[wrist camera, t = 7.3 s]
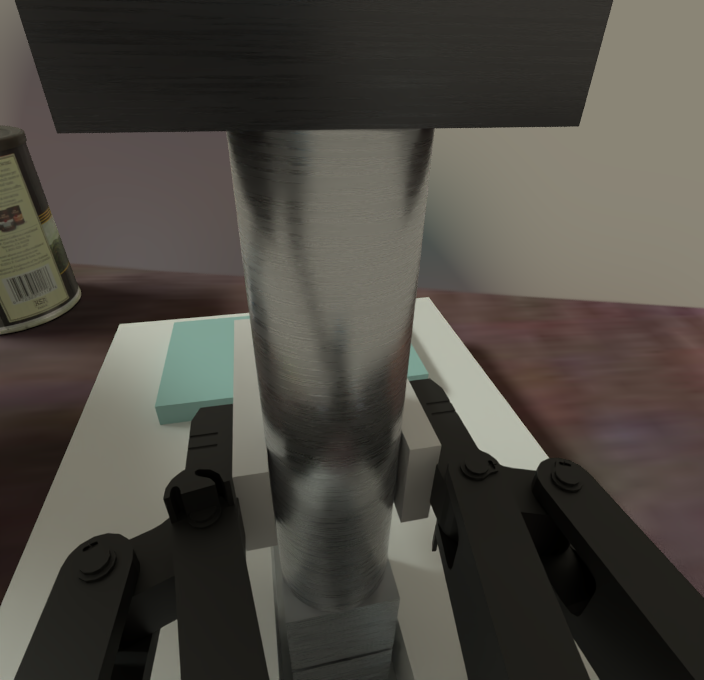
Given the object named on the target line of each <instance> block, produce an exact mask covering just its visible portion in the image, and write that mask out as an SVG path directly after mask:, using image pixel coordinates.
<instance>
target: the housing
mask: <svg viewBox="0 0 704 680" xmlns="http://www.w3.org/2000/svg"><path fill="white" fill-rule="evenodd" d="M241 316H250V315H249V313H243V314H231V315H220V316H208V317H197V318H185V319H174V320H162V321H151V322H139V323H128V324H120V325H119V327H118V329H117V332H116V334H115V337H114V339H113V341H112V344H111V346H110V348H109V351H108V353H107V355H106V358H105V360H104V363H103V365H102V367H101V370H100V372H99V374H98V377H97V379H96V382H95V384H94V386H93V389H92V391H91V393H90V396H89V398H88V400H87V403H86V405H85V408H84V410H83V412H82V415H81V417H80V419H79V422H78V424H77V426H76V429H75V431H74V434H73V436H72V438H71V441H70V443H69V445H68V448H67V450H66V452H65V455H64V457H63V460H62V462H61V464H60V467H59V469H58V471H57V474H56V476H55V479H54V481H53V483H52V486H51V488H50V490H49V493H48V495H47V497H46V500H45V502H44V505H43V507H42V509H41V512H40V514H39V516H38V519H37V521H36V523H35V526H34V528H33V531H32V533H31V535H30V538H29V540H28V542H27V545H26V547H25V549H24V552H23V554H22V557H21V559H20V561H19V564H18V566H17V568H16V571H15V573H14V575H13V578H12V580H11V583H10V585H9V587H8V590H7V592H6V594H5V597H4V599H3V602H2V604H1V606H0V680H14V678H15V675H16V673H17V671H18V668H19V666H20V663H21V661H22V659H23V656H24V654H25V651H26V649H27V647H28V644H29V642H30V640H31V637H32V635H33V632H34V630H35V628H36V625H37V623H38V621H39V618H40V616H41V613H42V611H43V609H44V606H45V604H46V602H47V599H48V597H49V594H50V592H51V590H52V587H53V585H54V583H55V580H56V578H57V575H58V573H59V571H60V568H61V566H62V565H63V563H64V562H65V560H66V558H67V557H68V555H69V554H70V553H71V552H72V551H74V550H75V549H76V548H77V547H78V546H79V545H80V544H82V543H83V542H85V541H87V540H89V539H91V538H92V537H94V536H98V535H102V534H106V533H114V534H121V535H123V536H124V537H126V538H128V539H132V538H134V537H136V536H138V535H140V534H143V533H145V532H147V531H149V530H151V529H153V528H155V527H157V526H159V525H160V524H162V523H163V522H164V521H166V520H167V519H168V518H169V515H168V512H167V509H166V506H165V503H164V500H163V497H164V492H165V488H166V487H167V485H168V484H169V482H170V481H171V479H172V478H174V477H175V476H176V475H177V474H179V473H180V472H181V471H183V470H185V466H186V458H187V451H188V442H189V434H190V426H191V421H187V422H179V423H171V424H163V425H160V423H159V419H158V416H157V413H156V409H155V403H156V399H157V395H158V390H159V386H160V382H161V377H162V373H163V369H164V364H165V360H166V356H167V351H168V347H169V343H170V338H171V334H172V330H173V325H174V322H184V321H196V320H207V319H218V318H230V317H241ZM411 344H412V346H413V347H414V349H415V351H416V353H417V354H418V356H419V358H420V360H421V361H422V363H423V365H424V367H425V368H426V370H427V372H428V374H429V375H428V379H429V378H430V379H431V380H433V381H434V382H435V383H437V384H438V385H439V386H440V387H442V388H443V390H444V391H445V393H446V395H447V397H448V398H449V400H450V403H452V405H453V407H454V408H455V411H456V412H457V413H458V415H459V417H460V418H461V420H462V422H463V424H464V425H465V427H466V429H467V430H468V432H469V434H470V435H471V437H472V439H473V440H474V442H475V444H476V445H477V447H478V449H479V450H481V451H483V452H486V453H488V454H490V455H491V456H492V457H494V458H495V459H496V460H497V461H498V462H499V464H500V465H502V466H506V467H511V468H518V469H527V470H535V471H536V470H537V468H538V466H539V464H540V463H541V462H542V461H544V460H546V459H548V458H549V457H548V456H547V455H546V453H545V452H544V451H543V449H542V448H541V447H540V445H539V444H538V443H537V441H536V440H535V439H534V437H533V436H532V435H531V433H530V432H529V431H528V429H527V428H526V427H525V425H524V424H523V423H522V421H521V420H520V419H519V417H518V416H517V415H516V413H515V412H514V411H513V409H512V408H511V407H510V405H509V404H508V403H507V401H506V400H505V399H504V397H503V396H502V395H501V393H500V392H499V391H498V389H497V388H496V387H495V385H494V384H493V383H492V381H491V380H490V379H489V377H488V376H487V375H486V373H485V372H484V371H483V369H482V368H481V367H480V365H479V364H478V363H477V361H476V360H475V359H474V357H473V356H472V355H471V353H470V352H469V351H468V349H467V348H466V347H465V345H464V344H463V343H462V341H461V340H460V339H459V337H458V336H457V335H456V333H455V332H454V331H453V329H452V328H451V327H450V325H449V324H448V323H447V321H446V320H445V319H444V317H443V316H442V315H441V313H440V312H439V311H438V309H437V308H436V307H435V305H434V304H433V303H432V301H431V300H430V299H429V297H427V298H416V301H415V310H414V320H413V329H412V338H411ZM436 520H437V519H436V516H435V514H434V511H433V509H432V507H431V505H430V511H429V516H428V518H424V519H419V520H413V521H408V522H403V523H401V522H400V519H399V516H398V513H397V510H396V507H395V504H394V502H393V511H392V520H391V529H390V538H389V547H388V558H389V562H390V565H391V569H392V572H393V576H394V579H395V582H396V586H397V589H398V593H399V596H400V603H399V610H398V616H397V623H396V629H395V636H394V643H393V647H392V656H391V662H390V669H389V676H388V680H468V678H467V673H466V669H465V664H464V660H463V656H462V651H461V647H460V642H459V638H458V633H457V629H456V624H455V620H454V615H453V611H452V606H451V602H450V597H449V593H448V588H447V584H446V579H445V575H444V570H443V566H442V561H441V557H440V553H439V548H438V545H437V550H436V551H433V552H432V540H433V535H434V530H435V525H436ZM277 541H278V538H277ZM246 563H247V568H248V573H249V578H250V583H251V588H252V593H253V598H254V603H255V608H256V613H257V618H258V623H259V629H260V634H261V639H262V644H263V649H264V654H265V659H266V664H267V669H268V674H269V679H270V680H293V675H292V667H291V659H290V652H289V644H288V637H287V629H286V621H285V608H284V596H283V584H282V572H281V562H280V554H279V546H278V545H277V546H272V547H266V548H261V549H256V550H250V551H247V550H246ZM574 641H575V640H574ZM575 644H576V646H577V649H578V651H579V653H580V656H581V658H582V661H583V663H584V665H585V668H586V670H587V673H588V675H589V677H590V680H599V678H598V676H597V675H596V673H595V672H594V670H593V669H592V667H591V665H590V664H589V662H588V661H587V659H586V658H585V656H584V654H583V653H582V651H581V650H580V648H579V647H578V645H577V643H576V642H575ZM150 680H181V674H180V658H179V641H178V624H177V620H175V621H173V622H171V623H169V624H167V625H166V626H164V627H162V628H161V629H160V634H159V639H158V644H157V649H156V654H155V659H154V663H153V668H152V673H151V678H150Z"/></svg>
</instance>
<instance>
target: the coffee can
mask: <svg viewBox="0 0 704 680" xmlns="http://www.w3.org/2000/svg"><path fill="white" fill-rule="evenodd" d="M80 297H81V290H80V288H79V286H78V284H77V282H76V279H75V276H74V273H73V271H72V268H71V266H70V263H69V260H68V258H67V255H66V252H65V249H64V247H63V244H62V241H61V238H60V235H59V233H58V230H57V227H56V225H55V222H54V219H53V217H52V214H51V211H50V209H49V206H48V202H47V200H46V197H45V194H44V192H43V189H42V186H41V183H40V180H39V177H38V175H37V172H36V170H35V167H34V164H33V161H32V159H31V156H30V153H29V150H28V147H27V145H26V136H25V133H24V131H23V130H22V129H19V128H16V127H10V126H0V335H1V334H6V333H13V332H18V331H22V330H26V329H29V328H32V327H35V326H38V325H40V324H43V323H46V322H48V321H51V320H53V319H55V318H57V317H59V316H60V315H62V314H64V313H66V312H67V311H68V310H70V309H71V308H73V307H74V305H75V304H76V303H77V302H78V301H79V299H80Z"/></svg>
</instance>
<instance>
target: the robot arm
mask: <svg viewBox="0 0 704 680" xmlns="http://www.w3.org/2000/svg"><path fill="white" fill-rule="evenodd" d="M163 500H164V503H165V506H166V509H167V512H168V515H169V518H168V519H167V520H166V521H164V522H163V523H162V524H160V525H159V526H157V527H155V528H153V529H151V530H149V531H147V532H145V533H143V534H140V535H138V536H136V537H134V538H132V539H128V538H126V537H124V536H123V535H121V534H114V533H106V534H102V535H98V536H94V537H92V538H91V539H89V540H87V541H85V542H83V543H82V544H80V545H79V546H78V547H77V548H76V549H75V550H74V551H72V552H71V553H70V554H69V555H68V557H67V558H66V560H65V562H64V563H63V565H62V566H61V568H60V571H59V573H58V575H57V578H56V580H55V583H54V585H53V587H52V590H51V592H50V594H49V597H48V599H47V602H46V604H45V606H44V609H43V611H42V613H41V616H40V618H39V621H38V623H37V625H36V628H35V630H34V632H33V635H32V637H31V640H30V642H29V644H28V647H27V649H26V651H25V654H24V656H23V659H22V661H21V663H20V666H19V668H18V671H17V673H16V675H15V678H14V680H150V678H151V673H152V668H153V663H154V659H155V654H156V649H157V644H158V639H159V634H160V629H161V628H162V627H164V626H166V625H167V624H169V623H171V622H173V621H175V620H177V624H178V641H179V658H180V674H181V680H270V679H269V674H268V669H267V664H266V659H265V654H264V649H263V644H262V639H261V634H260V629H259V623H258V618H257V613H256V608H255V603H254V598H253V593H252V588H251V583H250V578H249V573H248V568H247V563H246V550H247V551H250V550H256V549H261V548H266V547H272V546H277V545H278V541H277V529H276V517H275V509H274V501H273V493H272V485H271V477H270V469H269V461H268V453H267V446H266V442H265V435H264V427H263V419H262V411H261V403H260V395H259V387H258V379H257V371H256V363H255V355H254V347H253V339H252V331H251V323H250V319H242V320H234V376H233V404H226V405H218V406H210V407H202V408H200V409H199V410H198V412H197V413H196V415H195V416H194V418H193V419H192V421H191V426H190V434H189V442H188V451H187V458H186V466H185V470H183V471H181V472H180V473H179V474H177V475H176V476H175V477H174V478H172V479H171V481H170V482H169V484H168V485H167V487H166V488H165V492H164V497H163ZM394 504H395V507H396V510H397V513H398V516H399V519H400V522H401V523H403V522H408V521H413V520H419V519H424V518H428V516H429V511H430V505H431V507H432V509H433V511H434V514H435V516H436V519H437V520H436V525H435V530H434V535H433V540H432V552H433V551H436V550H437V545H438V548H439V553H440V557H441V561H442V566H443V570H444V575H445V579H446V584H447V588H448V593H449V597H450V602H451V606H452V611H453V615H454V620H455V624H456V629H457V633H458V638H459V642H460V647H461V651H462V656H463V660H464V664H465V669H466V673H467V678H468V680H590V677H589V675H588V673H587V670H586V668H585V665H584V663H583V661H582V658H581V656H580V653H579V651H578V649H577V646H576V644H575V642H576V643H577V645H578V647H579V648H580V650H581V651H582V653H583V654H584V656H585V658H586V659H587V661H588V662H589V664H590V665H591V667H592V669H593V670H594V672H595V673H596V675H597V676H598V678H599V680H704V598H703V597H702V596H701V595H700V593H699V592H698V591H697V590H696V589H695V588H694V587H693V586H692V585H691V584H690V583H689V582H688V580H687V579H686V578H685V577H684V576H683V575H682V574H681V573H680V572H679V571H678V570H677V568H676V567H675V566H674V565H673V564H672V563H671V562H670V561H669V560H668V559H667V558H666V556H665V555H664V554H663V553H662V552H661V551H660V550H659V549H658V548H657V547H656V546H655V544H654V543H653V542H652V541H651V540H650V539H649V538H648V537H647V536H646V535H645V534H644V533H643V531H642V530H641V529H640V528H639V527H638V526H637V525H636V524H635V523H634V522H633V521H632V519H631V518H630V517H629V516H628V515H627V514H626V513H625V512H624V511H623V510H622V509H621V507H620V506H619V505H618V504H617V503H616V502H615V501H614V500H613V499H612V498H611V497H610V495H609V494H608V493H607V492H606V491H605V490H604V489H603V488H602V487H601V486H600V485H599V483H598V482H597V481H596V480H595V479H594V478H593V477H592V476H591V475H590V474H589V473H588V472H587V471H586V470H585V469H583V468H582V467H581V466H580V465H578V464H576V463H574V462H572V461H570V460H566V459H561V458H548V459H546V460H544V461H542V462H541V463H540V464H539V466H538V468H537V470H536V471H535V470H527V469H518V468H511V467H506V466H502V465H500V464H499V462H498V461H497V460H496V459H495V458H494V457H492V456H491V455H490V454H488V453H486V452H483V451H481V450H479V449H478V447H477V445H476V444H475V442H474V440H473V439H472V437H471V435H470V434H469V432H468V430H467V429H466V427H465V425H464V424H463V422H462V420H461V418H460V417H459V415H458V413H457V412H456V411H455V408H454V407H453V405H452V403H450V400H449V398H448V397H447V395H446V393H445V391H444V390H443V388H442V387H440V386H439V385H438V384H437V383H435V382H434V381H433V380H431V379H430V378H429V379H421V380H413V381H409V380H408V378H407V383H406V392H405V402H404V411H403V420H402V429H401V438H400V447H399V456H398V465H397V474H396V484H395V493H394ZM574 640H575V641H574Z"/></svg>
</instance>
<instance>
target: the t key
mask: <svg viewBox="0 0 704 680" xmlns="http://www.w3.org/2000/svg"><path fill="white" fill-rule="evenodd" d="M15 2H16V5H17V9H18V12H19V15H20V18H21V21H22V24H23V27H24V31H25V34H26V37H27V40H28V43H29V46H30V49H31V52H32V56H33V59H34V62H35V65H36V68H37V71H38V75H39V77H40V81H41V84H42V87H43V90H44V93H45V97H46V100H47V103H48V106H49V109H50V112H51V115H52V119H53V122H54V125H55V128H56V131H57V133H115V132H186V131H187V132H189V131H190V132H191V131H226V133H227V140H228V148H229V157H230V164H231V172H232V180H233V188H234V196H235V203H236V212H237V220H238V228H239V236H240V244H241V251H242V260H243V267H244V276H245V284H246V292H247V300H248V308H249V315H250V323H251V331H252V339H253V347H254V355H255V363H256V371H257V379H258V387H259V395H260V403H261V411H262V419H263V427H264V435H265V442H266V446H267V453H268V461H269V469H270V477H271V485H272V493H273V501H274V509H275V517H276V529H277V538H278V546H279V554H280V562H281V572H282V584H283V596H284V608H285V621H286V629H287V637H288V644H289V652H290V659H291V667H292V675H293V680H388V676H389V669H390V662H391V656H392V647H393V643H394V636H395V629H396V623H397V616H398V610H399V603H400V596H399V593H398V589H397V586H396V582H395V579H394V576H393V572H392V569H391V565H390V562H389V558H388V547H389V538H390V529H391V520H392V511H393V502H394V493H395V484H396V474H397V465H398V456H399V447H400V438H401V429H402V420H403V411H404V402H405V392H406V383H407V374H408V365H409V356H410V347H411V338H412V329H413V320H414V310H415V301H416V292H417V283H418V274H419V264H420V256H421V246H422V238H423V228H424V218H425V210H426V201H427V192H428V183H429V174H430V165H431V156H432V146H433V137H434V128H489V127H490V128H492V127H559V126H560V127H562V126H564V127H567V126H579V124H580V120H581V117H582V113H583V109H584V106H585V102H586V98H587V95H588V90H589V87H590V84H591V80H592V76H593V72H594V69H595V65H596V61H597V58H598V54H599V50H600V47H601V43H602V40H603V36H604V32H605V28H606V25H607V21H608V17H609V14H610V10H611V6H612V2H613V0H15Z"/></svg>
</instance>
